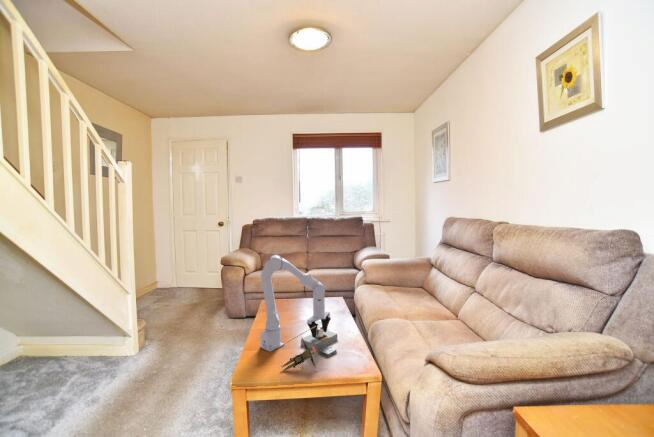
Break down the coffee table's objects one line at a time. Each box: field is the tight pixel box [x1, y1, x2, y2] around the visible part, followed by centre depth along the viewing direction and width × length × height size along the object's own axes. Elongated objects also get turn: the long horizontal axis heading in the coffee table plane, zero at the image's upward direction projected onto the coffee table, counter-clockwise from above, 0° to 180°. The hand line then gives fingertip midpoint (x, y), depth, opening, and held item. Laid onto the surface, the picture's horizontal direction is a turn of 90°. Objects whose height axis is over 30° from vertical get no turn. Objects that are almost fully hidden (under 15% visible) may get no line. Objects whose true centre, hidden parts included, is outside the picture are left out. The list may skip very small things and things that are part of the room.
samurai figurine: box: [275, 326, 318, 372], centre depth 127 cm, size 16×10×20 cm
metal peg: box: [315, 326, 323, 340], centre depth 150 cm, size 4×4×7 cm
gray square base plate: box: [317, 345, 338, 358], centre depth 139 cm, size 6×6×2 cm
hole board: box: [300, 330, 338, 352], centre depth 150 cm, size 16×10×3 cm, turn 139°
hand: (319, 334), depth 150 cm, fingers open, 7 cm apart
